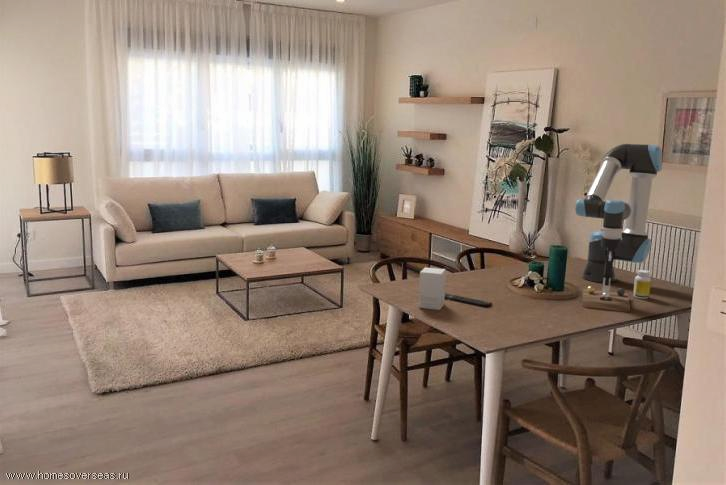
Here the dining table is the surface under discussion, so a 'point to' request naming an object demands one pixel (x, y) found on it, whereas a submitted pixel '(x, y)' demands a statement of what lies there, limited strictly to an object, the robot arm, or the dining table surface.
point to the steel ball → (605, 296)
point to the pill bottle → (642, 285)
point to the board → (606, 301)
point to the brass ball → (590, 289)
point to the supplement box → (432, 288)
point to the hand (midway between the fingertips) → (605, 292)
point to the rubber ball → (620, 291)
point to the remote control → (468, 300)
